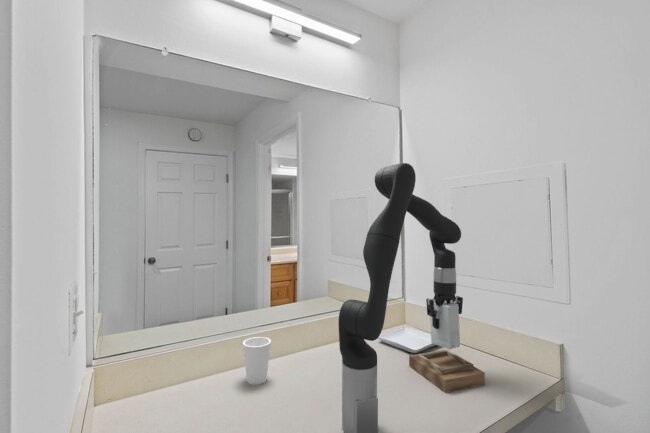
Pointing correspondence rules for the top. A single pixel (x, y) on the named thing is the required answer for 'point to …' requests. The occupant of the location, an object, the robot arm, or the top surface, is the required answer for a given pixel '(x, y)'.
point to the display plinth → (447, 370)
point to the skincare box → (447, 327)
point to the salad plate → (408, 339)
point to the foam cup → (256, 358)
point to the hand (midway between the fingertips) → (444, 327)
